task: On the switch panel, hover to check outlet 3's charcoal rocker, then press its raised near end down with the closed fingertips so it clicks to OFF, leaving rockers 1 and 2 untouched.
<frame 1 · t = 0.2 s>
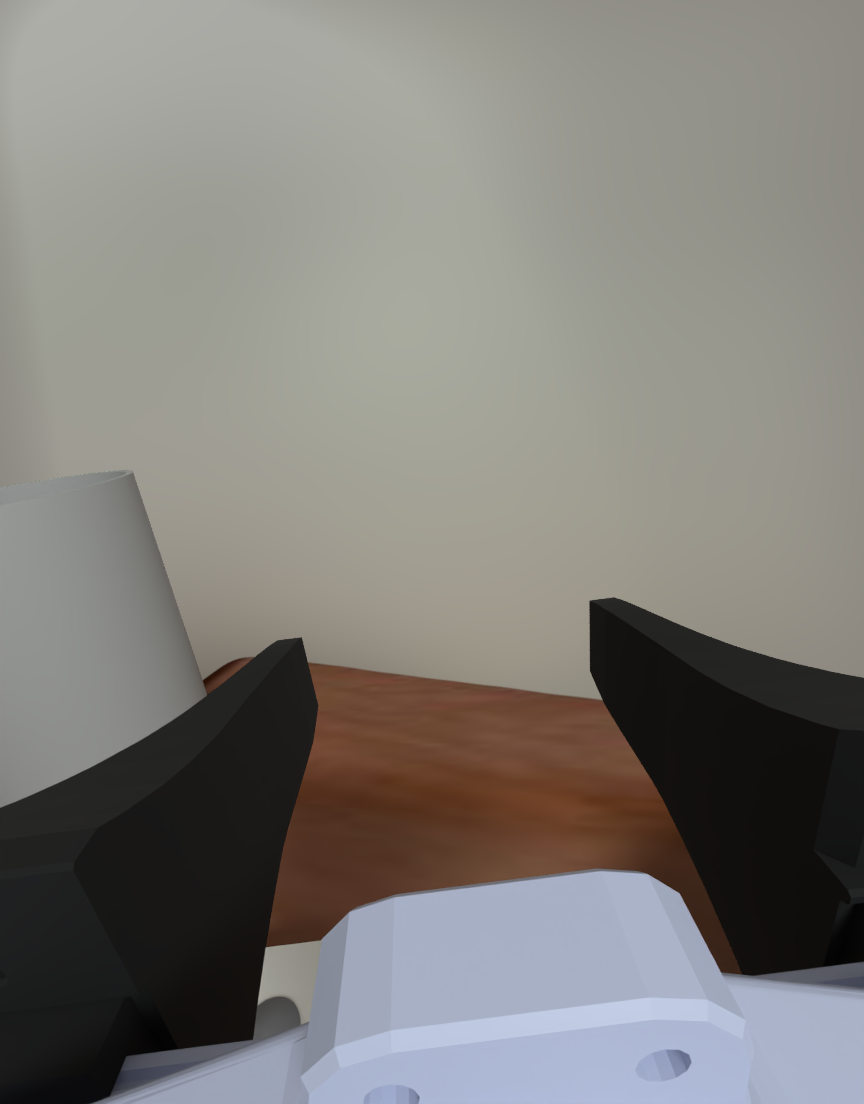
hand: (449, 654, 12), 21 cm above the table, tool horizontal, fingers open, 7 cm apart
cylinder vase: (150, 843, 34), on the table
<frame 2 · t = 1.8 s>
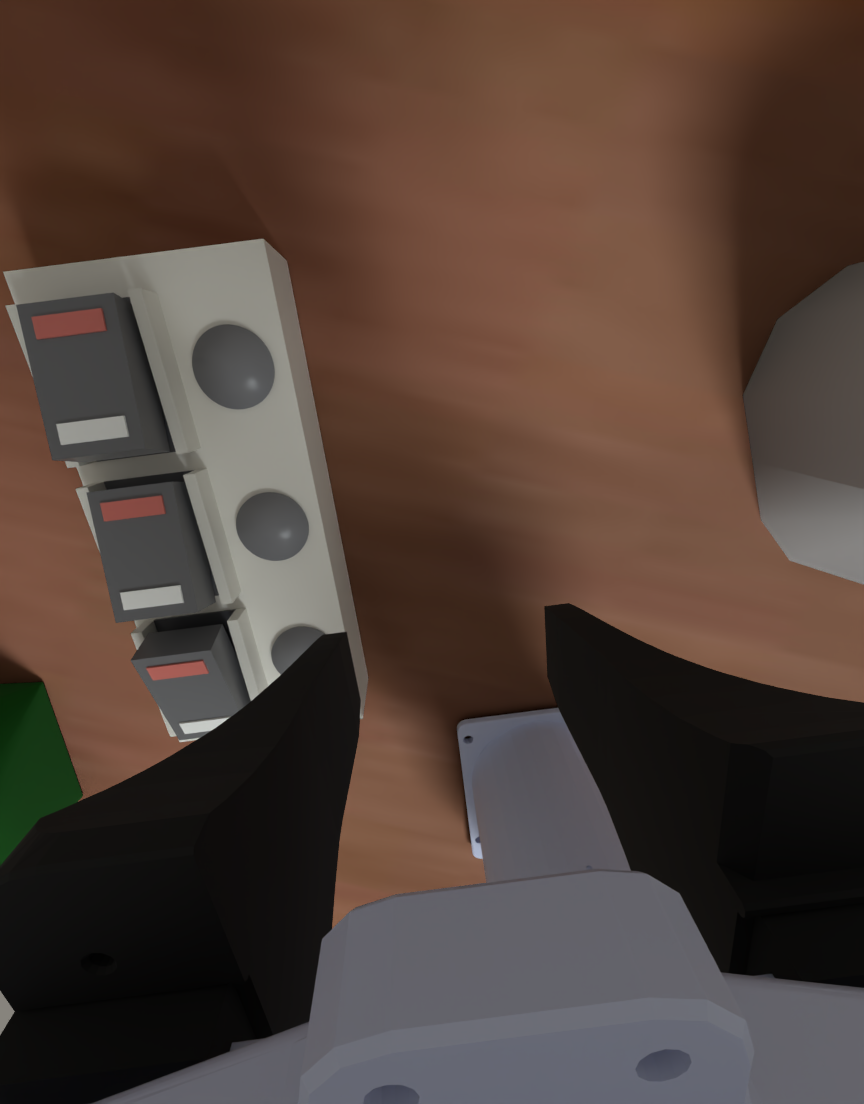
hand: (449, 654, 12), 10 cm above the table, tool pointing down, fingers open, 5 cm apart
rocker 3: (97, 382, 15), point 4 cm above the table, hinge at 12.0°, touching switch panel
switch panel: (240, 512, 21), on the table
rocker 1: (199, 684, 19), point 4 cm above the table, hinge at -12.0°, touching switch panel
rocker 2: (154, 550, 17), point 4 cm above the table, hinge at 12.0°, touching switch panel
toilet tissue: (839, 422, 21), on the table
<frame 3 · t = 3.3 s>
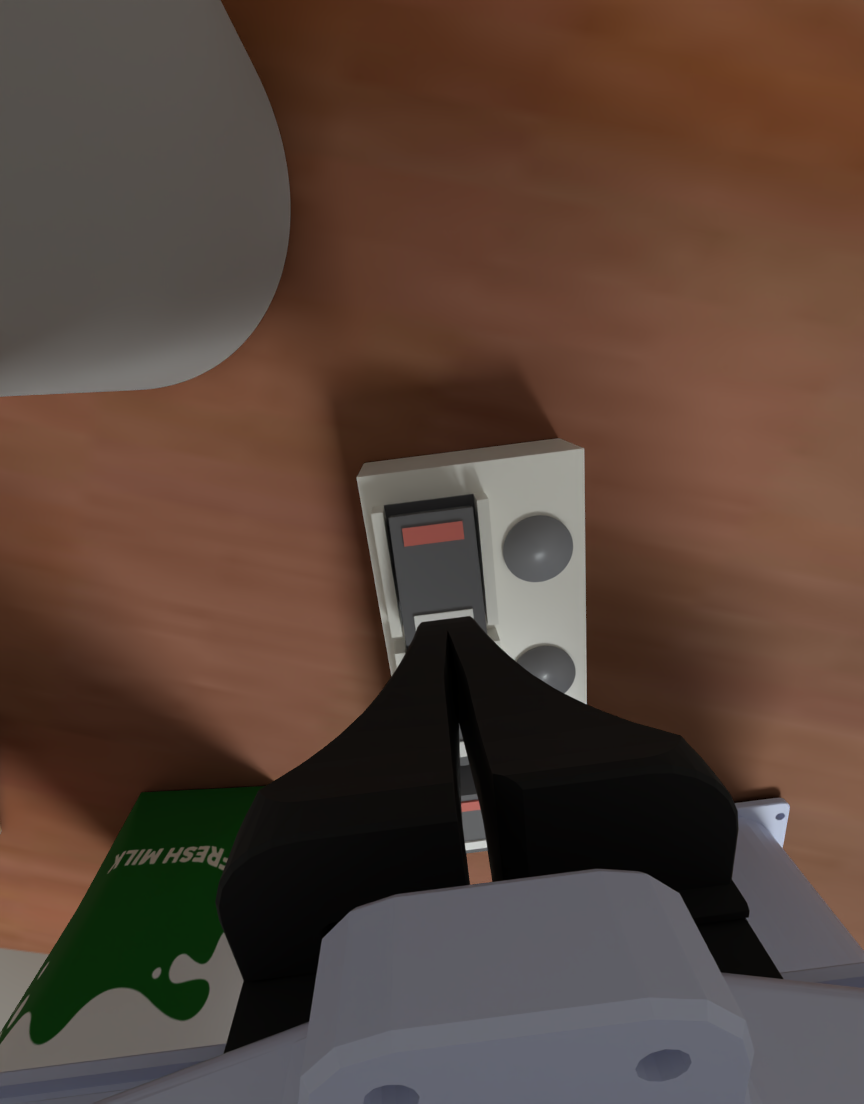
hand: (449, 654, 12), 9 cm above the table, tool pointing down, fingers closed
rocker 3: (438, 574, 17), point 4 cm above the table, hinge at 12.0°, touching switch panel
milk carton: (223, 833, 26), on the table
switch panel: (480, 642, 23), on the table
rocker 1: (467, 809, 21), point 4 cm above the table, hinge at -12.0°, touching switch panel
cylinder vase: (111, 195, 16), on the table
rocker 2: (454, 703, 19), point 4 cm above the table, hinge at 12.0°, touching switch panel
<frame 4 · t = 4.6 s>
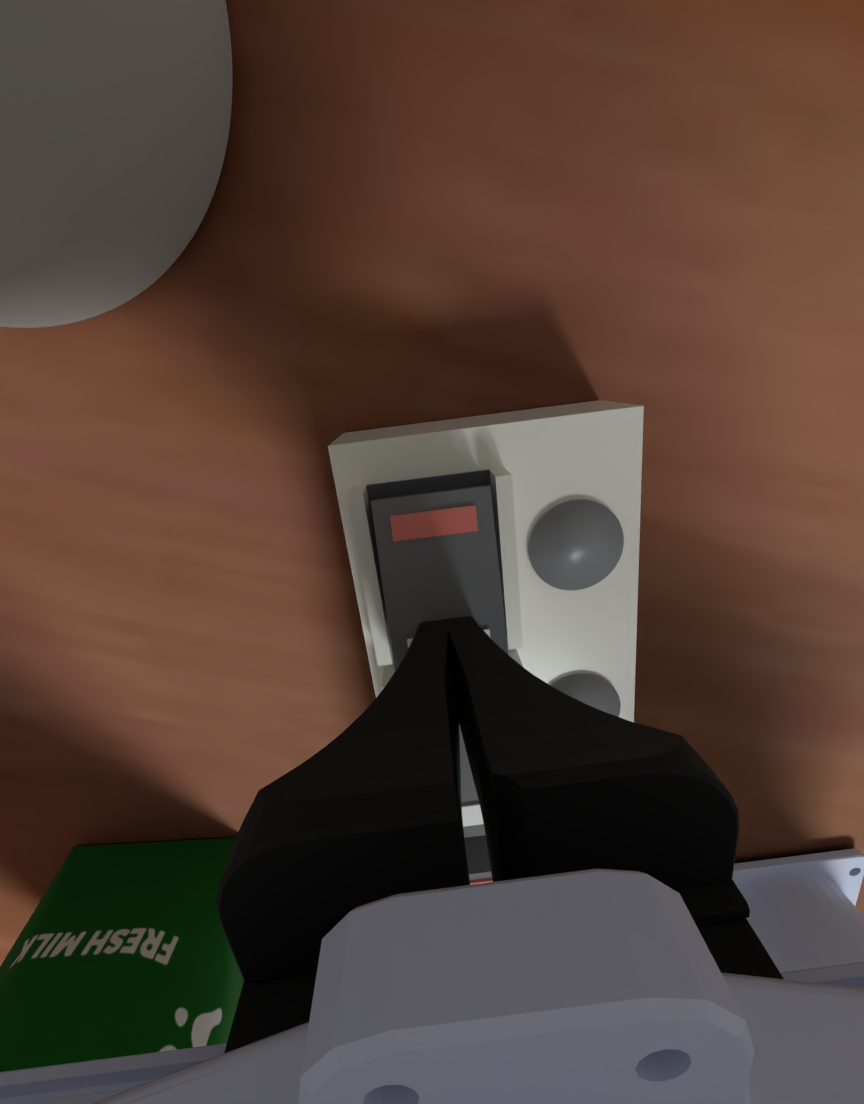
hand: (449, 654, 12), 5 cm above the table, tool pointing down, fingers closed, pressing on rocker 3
rocker 3: (440, 580, 12), point 4 cm above the table, hinge at 11.9°, touching gripper, switch panel
milk carton: (178, 892, 22), on the table
switch panel: (493, 664, 18), on the table
rocker 1: (478, 883, 16), point 4 cm above the table, hinge at -12.0°, touching switch panel
rocker 2: (462, 752, 14), point 4 cm above the table, hinge at 12.0°, touching switch panel
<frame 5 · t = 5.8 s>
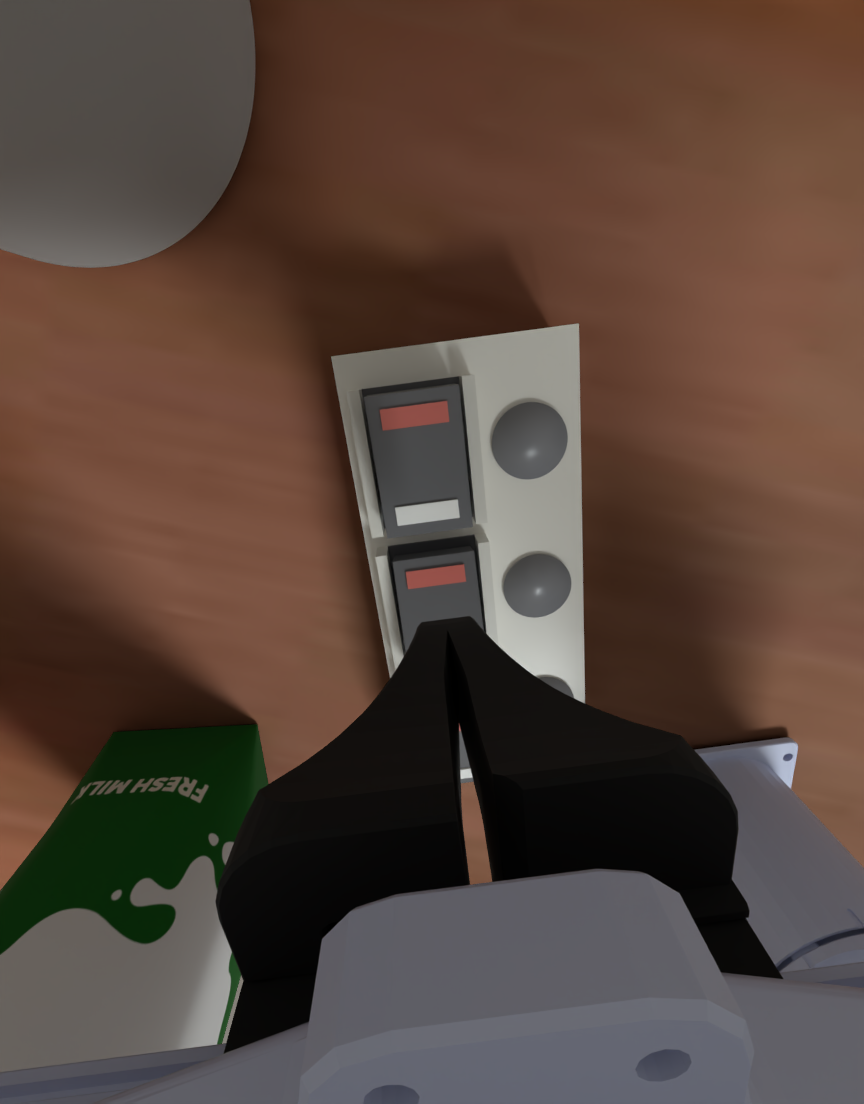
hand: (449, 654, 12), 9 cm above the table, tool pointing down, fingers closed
rocker 3: (420, 461, 15), point 4 cm above the table, hinge at -0.4°
milk carton: (202, 778, 25), on the table
switch panel: (470, 564, 21), on the table
rocker 1: (457, 735, 19), point 4 cm above the table, hinge at -12.0°, touching switch panel
cylinder vase: (59, 44, 15), on the table
rocker 2: (440, 613, 17), point 4 cm above the table, hinge at 12.0°, touching switch panel
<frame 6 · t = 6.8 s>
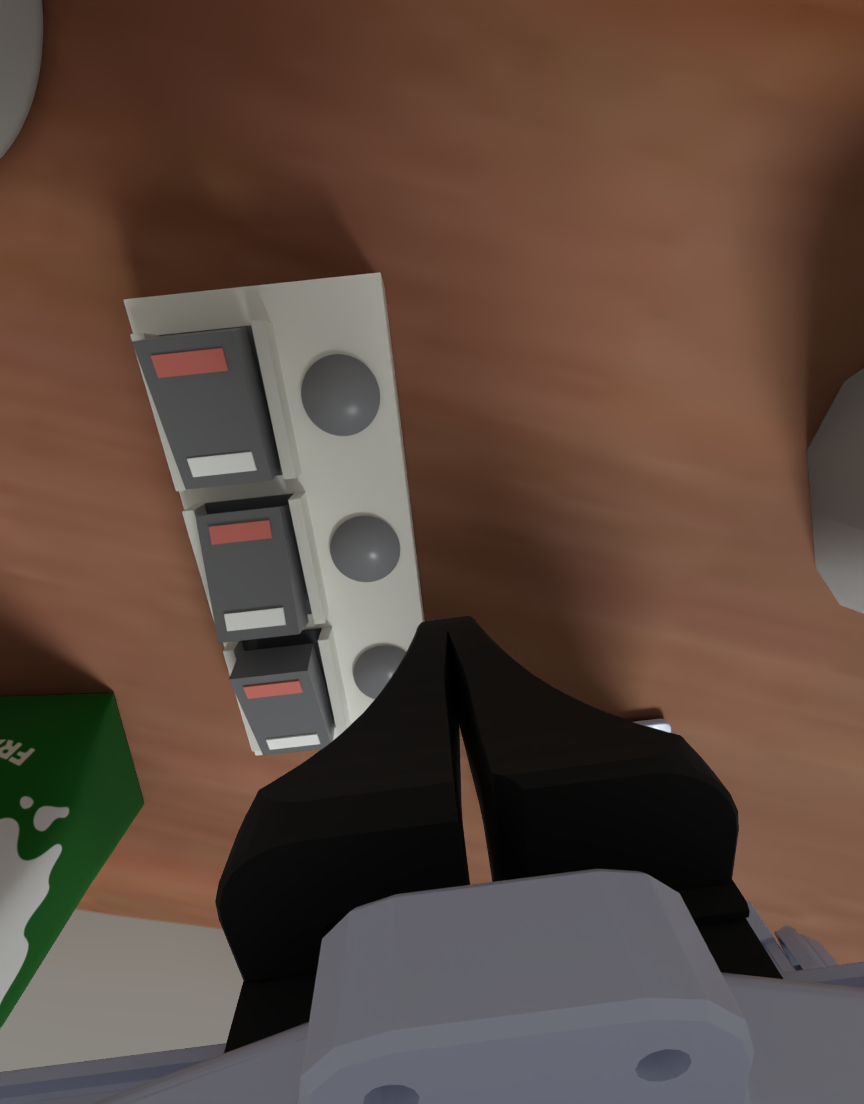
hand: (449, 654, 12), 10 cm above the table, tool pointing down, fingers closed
rocker 3: (214, 411, 15), point 4 cm above the table, hinge at -8.6°
milk carton: (62, 748, 24), on the table
switch panel: (320, 531, 21), on the table
rocker 1: (287, 701, 19), point 4 cm above the table, hinge at -12.0°, touching switch panel
rocker 2: (255, 572, 17), point 4 cm above the table, hinge at 12.0°, touching switch panel
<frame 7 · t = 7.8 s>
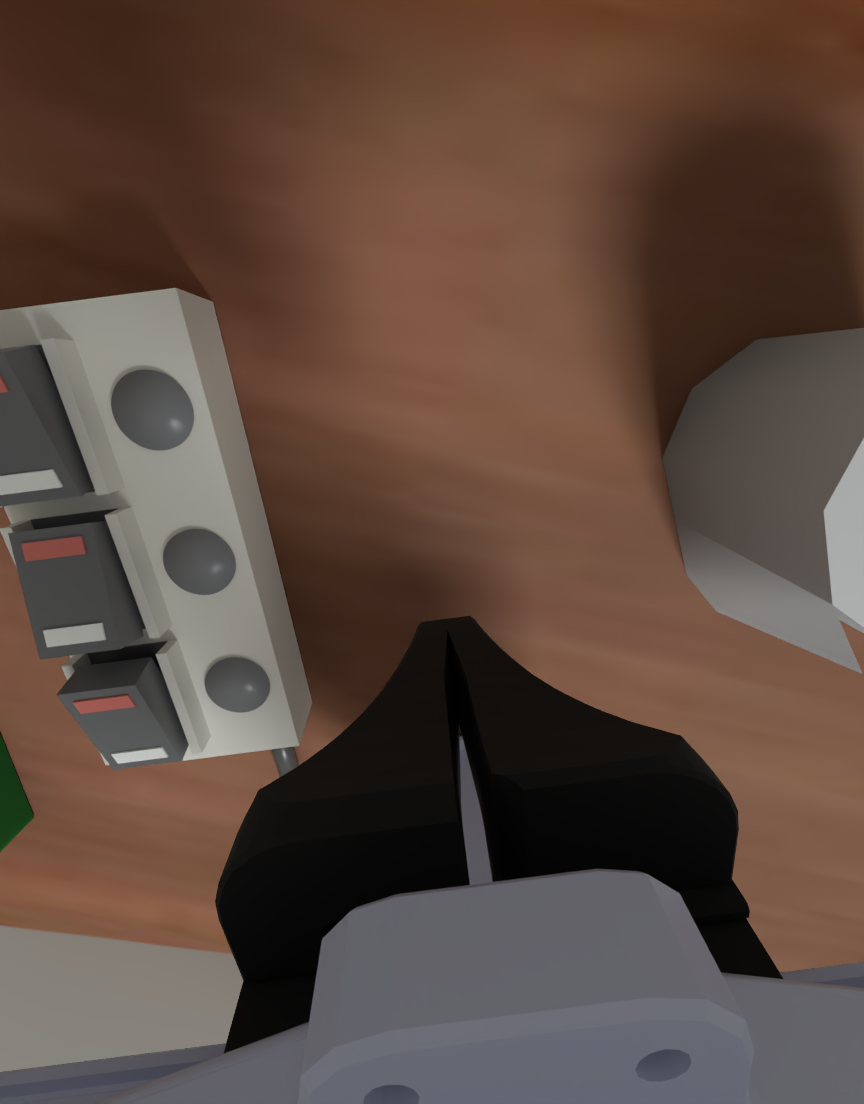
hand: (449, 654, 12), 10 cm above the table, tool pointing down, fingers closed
rocker 3: (14, 429, 15), point 4 cm above the table, hinge at -12.0°, touching switch panel
switch panel: (178, 543, 21), on the table
rocker 1: (131, 715, 19), point 4 cm above the table, hinge at -12.0°, touching switch panel
rocker 2: (79, 588, 17), point 4 cm above the table, hinge at 12.0°, touching switch panel
toilet tissue: (757, 482, 21), on the table
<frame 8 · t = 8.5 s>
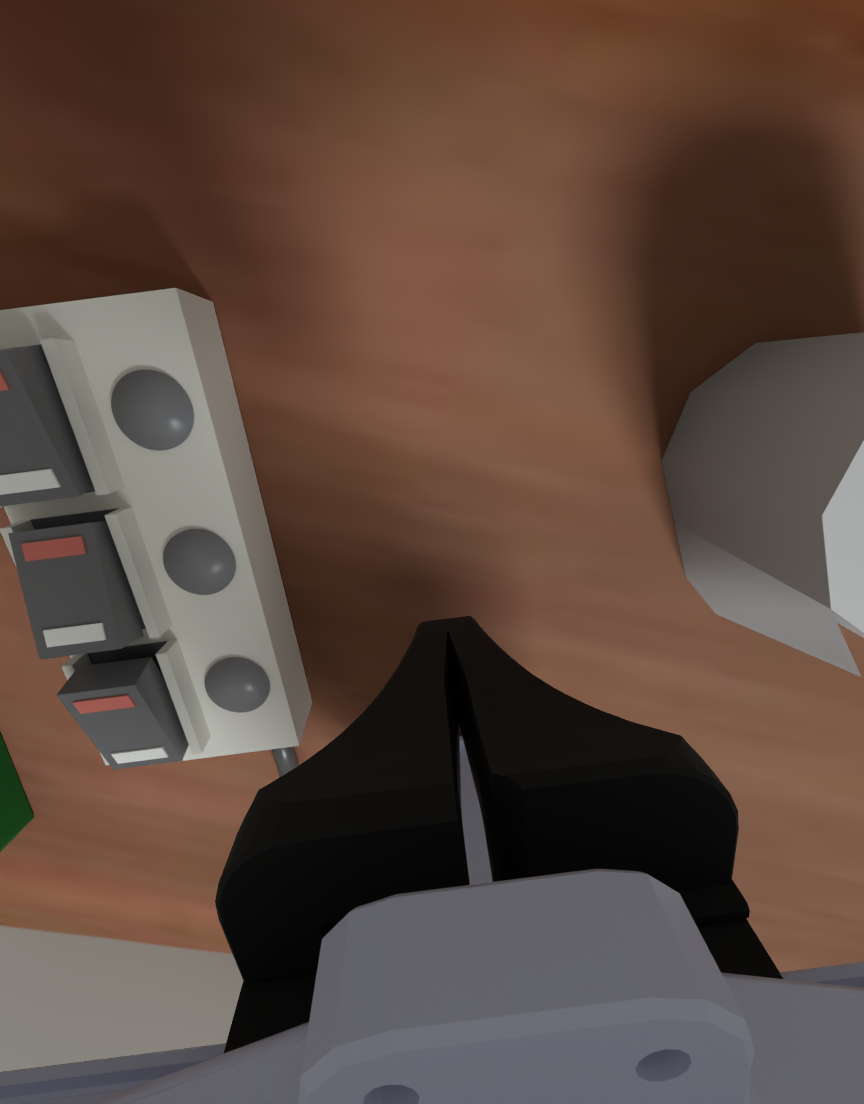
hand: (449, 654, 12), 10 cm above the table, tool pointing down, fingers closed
rocker 3: (14, 429, 15), point 4 cm above the table, hinge at -9.1°
switch panel: (178, 543, 21), on the table
rocker 1: (131, 715, 19), point 4 cm above the table, hinge at -12.0°, touching switch panel
rocker 2: (79, 588, 17), point 4 cm above the table, hinge at 12.0°, touching switch panel
toilet tissue: (756, 485, 21), on the table
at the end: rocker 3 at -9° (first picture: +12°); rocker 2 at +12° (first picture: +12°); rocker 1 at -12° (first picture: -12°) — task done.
